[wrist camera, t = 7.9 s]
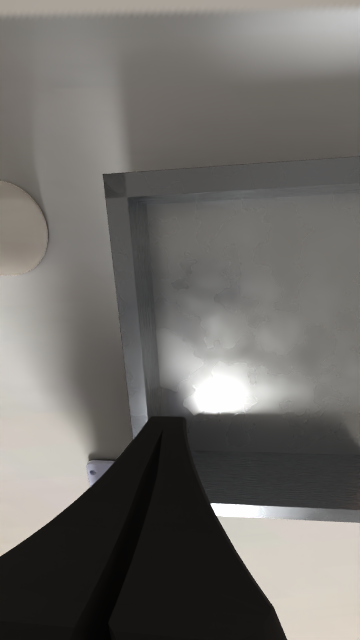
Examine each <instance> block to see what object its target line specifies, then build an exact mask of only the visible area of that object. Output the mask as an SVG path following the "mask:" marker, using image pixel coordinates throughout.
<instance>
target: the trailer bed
mask: <svg viewBox="0 0 360 640" xmlns="http://www.w3.org/2000/svg"><path fill="white" fill-rule="evenodd" d="M103 180H104V189H105V198H106V206H107V215H108V224H109V233H110V241H111V250H112V259H113V268H114V276H115V285H116V294H117V303H118V311H119V320H120V329H121V338H122V346H123V355H124V364H125V373H126V381H127V390H128V399H129V407H130V416H131V425H132V434H133V439H134V438H135V437H136V435H137V434H138V433H139V431H140V430H141V429H142V427H143V426H144V425H145V423H146V422H147V421H148V419H149V418H150V417H151V416H171V417H184V418H186V419H187V438H188V443H189V447H190V450H191V454H192V457H193V461H194V464H195V467H196V470H197V472H198V475H199V478H200V481H201V483H202V485H203V488H204V490H205V493H206V495H207V497H208V499H209V501H210V504H211V506H212V508H213V510H214V512H215V514H216V516H233V517H253V518H274V519H294V520H315V521H335V522H356V523H360V156H359V157H345V158H330V159H316V160H301V161H286V162H272V163H257V164H243V165H228V166H214V167H199V168H185V169H170V170H155V171H141V172H126V173H112V174H103Z"/></svg>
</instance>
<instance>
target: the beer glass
mask: <svg viewBox="0 0 360 640" xmlns="http://www.w3.org/2000/svg"><path fill="white" fill-rule="evenodd" d="M47 244H48V230H47V224H46V221H45V218H44V215H43V213H42V211H41V209H40V208H39V206H38V205H37V203H36V202H35V201H34V199H33V198H32V197H31V196H30V195H29V194H28V193H26V192H25V191H24V190H22V189H21V188H19V187H18V186H16V185H14V184H11V183H9V182H5V181H0V276H15V275H21V274H24V273H27V272H29V271H30V270H32V269H33V268H35V267H36V266H37V265H38V264H39V263H40V261H41V260H42V258H43V257H44V255H45V252H46V249H47Z"/></svg>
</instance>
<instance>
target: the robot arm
mask: <svg viewBox="0 0 360 640" xmlns="http://www.w3.org/2000/svg"><path fill="white" fill-rule="evenodd" d="M87 473H88V479H89V484H90V488H89V489H88V490H87V491H86V492H84V493H83V494H82V495H81V496H80V497H79V498H78V499H77V500H76V501H74V502H73V503H72V504H71V505H70V506H69V507H67V508H66V509H65V510H64V511H63V512H61V513H60V514H59V515H58V516H56V517H55V518H54V519H53V520H51V521H50V522H49V523H48V524H46V525H45V526H44V527H42V528H41V529H39V530H38V531H37V532H35V533H34V534H33V535H31V536H30V537H28V538H27V539H26V540H24V541H23V542H21V543H20V544H18V545H17V546H15V547H14V548H13V549H11V550H10V551H8V552H6V553H5V554H3V555H2V556H0V640H287V638H286V636H285V633H284V631H283V628H282V626H281V624H280V621H279V619H278V616H277V614H276V612H275V609H274V607H273V606H272V604H271V603H270V601H269V600H268V598H267V597H266V596H265V594H264V593H263V591H262V590H261V588H260V587H259V586H258V584H257V583H256V581H255V580H254V578H253V577H252V575H251V574H250V572H249V571H248V569H247V567H246V566H245V564H244V563H243V561H242V560H241V558H240V556H239V555H238V553H237V552H236V550H235V548H234V546H233V545H232V543H231V541H230V539H229V538H228V536H227V534H226V532H225V531H224V529H223V527H222V525H221V523H220V522H219V520H218V518H217V516H216V514H215V512H214V510H213V508H212V506H211V504H210V501H209V499H208V497H207V495H206V493H205V490H204V488H203V485H202V483H201V481H200V478H199V475H198V472H197V470H196V467H195V464H194V461H193V457H192V454H191V450H190V447H189V443H188V438H187V419H186V418H184V417H171V416H151V417H150V418H149V419H148V421H147V422H146V423H145V425H144V426H143V427H142V429H141V430H140V431H139V433H138V434H137V435H136V437H135V438H134V439H133V441H132V442H131V443H130V444H129V445H128V447H127V448H126V449H125V450H124V452H123V453H122V454H121V455H120V456H119V457H118V459H117V460H116V461H102V460H91V461H89V462H88V464H87Z"/></svg>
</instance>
